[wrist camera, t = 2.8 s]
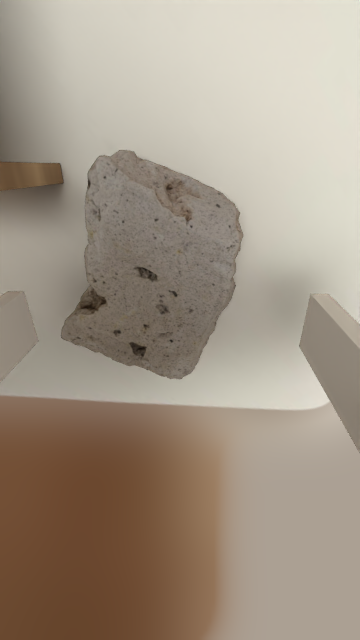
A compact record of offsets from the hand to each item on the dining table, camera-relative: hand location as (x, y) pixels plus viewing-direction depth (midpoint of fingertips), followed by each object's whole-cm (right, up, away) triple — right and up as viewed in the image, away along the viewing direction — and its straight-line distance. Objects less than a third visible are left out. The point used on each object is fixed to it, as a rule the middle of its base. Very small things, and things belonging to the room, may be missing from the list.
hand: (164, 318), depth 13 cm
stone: (-1, +3, +6) cm, 7 cm away
